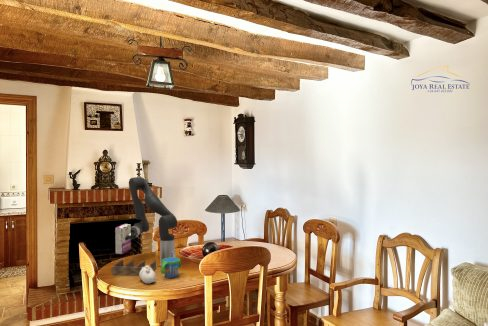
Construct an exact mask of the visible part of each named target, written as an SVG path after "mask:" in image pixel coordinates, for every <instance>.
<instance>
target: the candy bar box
mask: <svg viewBox="0 0 488 326" xmlns="http://www.w3.org/2000/svg"><path fill="white" fill-rule="evenodd" d="M131 225H132V224H128V223H124V224H120V225H119V226H116V227H115V228H114V229H115V230H114V233H115V234H114V236H115V237H114V238H115V240H114V241H115V242H114V243H115V254H116V255H123V254H125V253H127V252H128V251H130V250H132V239H130V240H127V241H126V240H125V237H127V236H129V235H130V234H131V227H132V226H131Z"/></svg>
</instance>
